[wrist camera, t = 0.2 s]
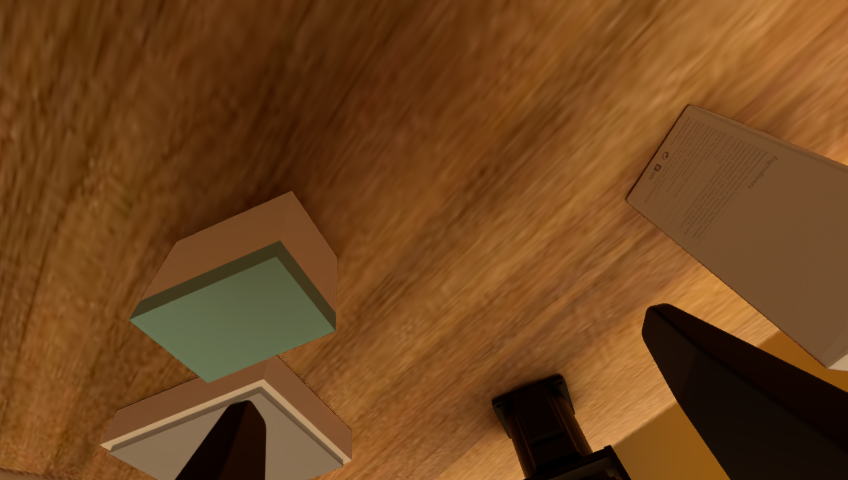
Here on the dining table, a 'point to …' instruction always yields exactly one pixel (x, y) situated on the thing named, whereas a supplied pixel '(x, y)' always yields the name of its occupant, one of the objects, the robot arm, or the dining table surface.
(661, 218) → the small box
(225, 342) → the cream carton
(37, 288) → the dining table surface
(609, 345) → the dining table surface
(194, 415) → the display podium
